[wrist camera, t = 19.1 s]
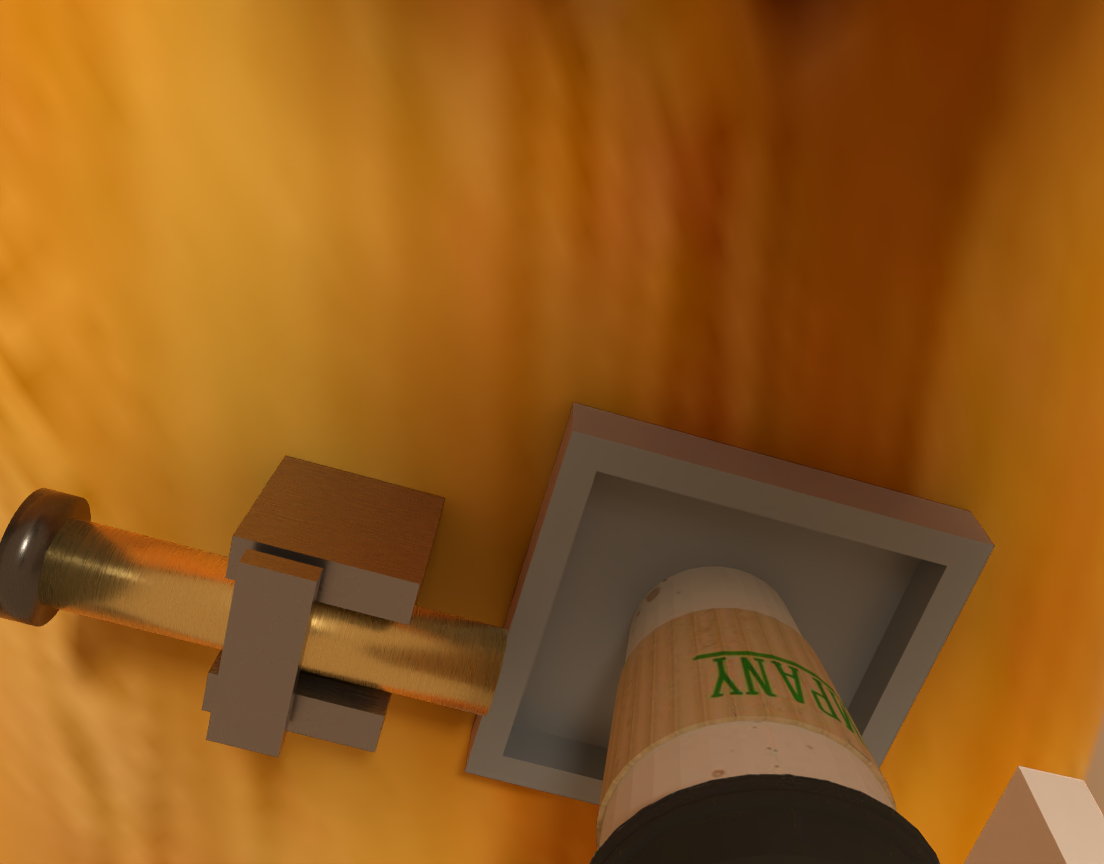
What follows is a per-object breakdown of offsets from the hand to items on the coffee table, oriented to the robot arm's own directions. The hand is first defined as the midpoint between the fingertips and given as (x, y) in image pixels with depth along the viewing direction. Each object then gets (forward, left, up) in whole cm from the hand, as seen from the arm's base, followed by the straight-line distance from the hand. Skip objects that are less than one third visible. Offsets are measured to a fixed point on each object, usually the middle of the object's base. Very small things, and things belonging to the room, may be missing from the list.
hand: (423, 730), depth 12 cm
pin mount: (+14, -4, -25) cm, 29 cm away
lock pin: (+14, -6, -22) cm, 27 cm away
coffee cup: (+13, +10, -24) cm, 30 cm away
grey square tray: (+13, +10, -25) cm, 30 cm away
